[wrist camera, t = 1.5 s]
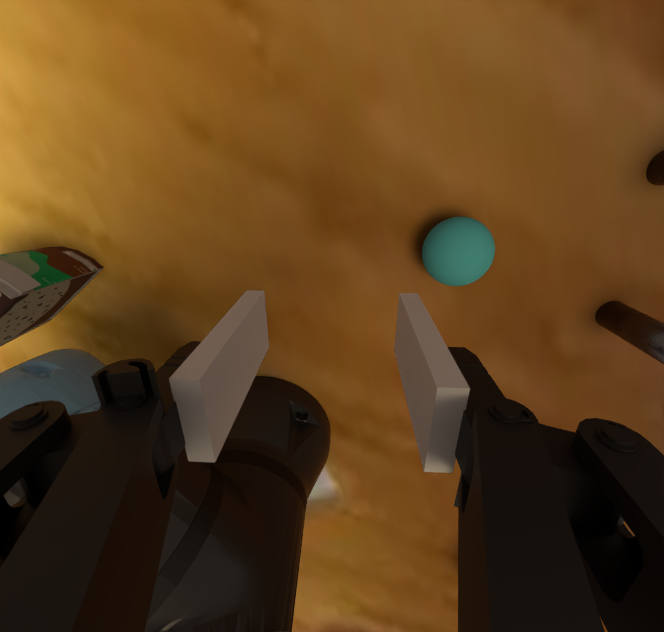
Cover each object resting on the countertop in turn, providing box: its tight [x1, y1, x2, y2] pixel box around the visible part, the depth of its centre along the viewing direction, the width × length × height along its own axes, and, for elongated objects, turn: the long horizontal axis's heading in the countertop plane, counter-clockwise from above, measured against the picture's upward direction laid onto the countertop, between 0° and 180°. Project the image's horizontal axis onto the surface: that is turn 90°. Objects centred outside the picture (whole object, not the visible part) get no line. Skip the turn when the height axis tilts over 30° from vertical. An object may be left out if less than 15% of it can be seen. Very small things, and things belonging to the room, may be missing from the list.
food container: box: [0, 247, 104, 346], centre depth 28 cm, size 12×6×10 cm, turn 128°
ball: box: [422, 217, 495, 286], centre depth 27 cm, size 6×6×6 cm
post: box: [596, 301, 664, 364], centre depth 27 cm, size 3×3×9 cm
